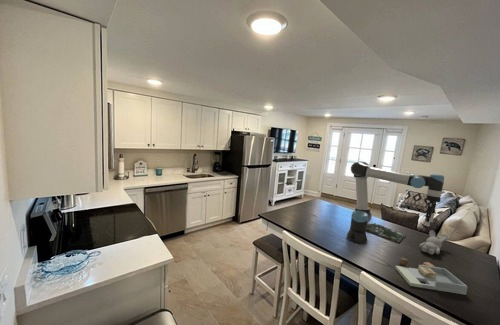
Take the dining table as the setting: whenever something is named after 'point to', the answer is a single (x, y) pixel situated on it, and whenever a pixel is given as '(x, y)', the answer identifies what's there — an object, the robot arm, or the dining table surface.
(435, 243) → the toy
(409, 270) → the tray
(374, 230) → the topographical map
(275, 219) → the dining table surface
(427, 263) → the terracotta block
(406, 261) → the walnut dowel
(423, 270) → the maple block
